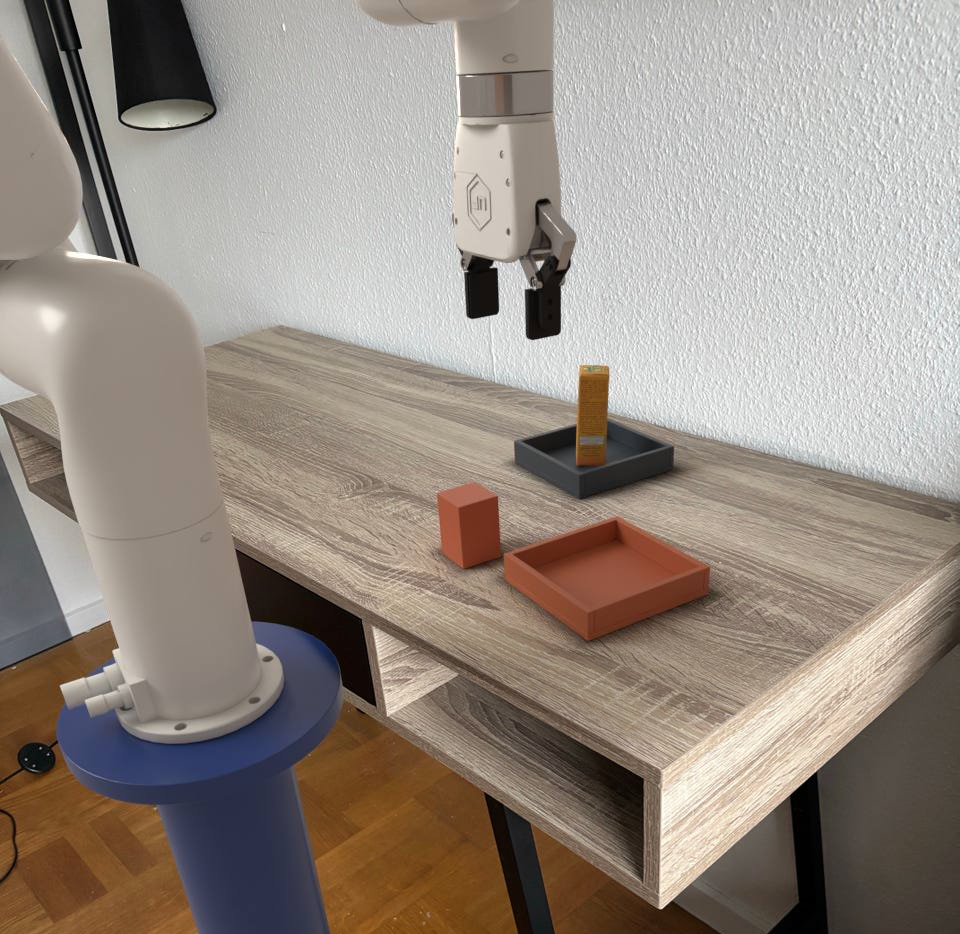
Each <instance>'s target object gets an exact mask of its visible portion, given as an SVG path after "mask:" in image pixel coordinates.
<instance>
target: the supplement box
mask: <svg viewBox="0 0 960 934" xmlns="http://www.w3.org/2000/svg"><path fill="white" fill-rule="evenodd" d="M577 387H578V389H577V407H576V408H577V410H576V411H577V412H576V413H577V414H576V424H577V435H576V464H577V466H585V467H590V466H602V465H606V440H607V418H608V416H609V415H608V413H609V390H610V389H609V388H610V367H609V366H608V365H600V364H581V365H579V371H578V386H577Z"/></svg>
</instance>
